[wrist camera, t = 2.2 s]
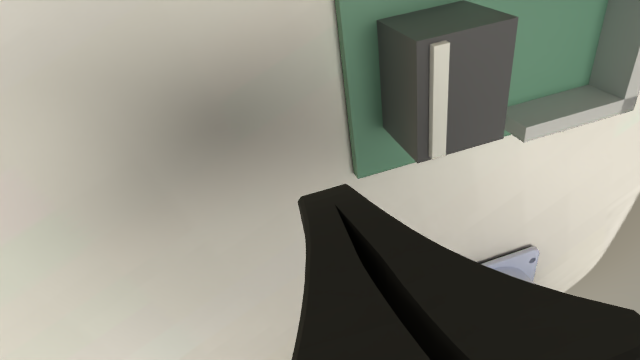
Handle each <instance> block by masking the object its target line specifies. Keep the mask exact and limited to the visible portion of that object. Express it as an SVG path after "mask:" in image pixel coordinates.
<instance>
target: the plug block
mask: <svg viewBox="0 0 640 360" xmlns="http://www.w3.org/2000/svg"><path fill="white" fill-rule="evenodd" d="M518 18H519V17H517V16H514V15H510V14H507V13H504V12H501V11H498V10H494V9H491V8H488V7H485V6H481V5H478V4H475V3H472V2H469V1H465V0H462V1H458V2H454V3H449V4H445V5H440V6H436V7H432V8H427V9H423V10H418V11H414V12H410V13H405V14H401V15H396V16H392V17H388V18H383V19H379V20H377V34H378V51H379V68H380V85H381V102H382V119H383V128H384V129H385V130H386V131H387V132H388V133H389V134H390V135H391V136H392V137H393V138H394V140H395V141H396V142H397V143H398V144H399V145H400V146H401V147H402V148H403V149H404V150H405V151H406V152H407V153H408V154H409V155H410V156H411V157H412V158H413V159H414V160H415V161H416V162H417V163H420V162H424V161H427V160H430V159H436V158H439V157H442V156H446V155H448V154H451V153H455V152H458V151H461V150H465V149H468V148H472V147H475V146H479V145H482V144H486V143H489V142H492V141H496V140H499V139H503V138H504V130H505V122H506V114H507V106H508V98H509V90H510V82H511V74H512V66H513V58H514V50H515V42H516V34H517V26H518Z"/></svg>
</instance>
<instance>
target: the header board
mask: <svg viewBox="0 0 640 360" xmlns="http://www.w3.org/2000/svg"><path fill="white" fill-rule="evenodd" d="M458 1H462V0H335V7H336V16H337V25H338V34H339V43H340V52H341V61H342V70H343V79H344V88H345V97H346V106H347V115H348V124H349V133H350V142H351V151H352V160H353V169H354V174H355V175H356V177H357V178H358V179H359V178H363V177H366V176H370V175H373V174H377V173H380V172H384V171H387V170H390V169H394V168H397V167H401V166H404V165H408V164H411V163H415V162H416V161H415V160H414V159H413V158H412V157H411V156H410V155H409V154H408V153H407V152H406V151H405V150H404V149H403V148H402V147H401V146H400V145H399V144H398V143H397V142H396V141H395V140H394V138H393V137H392V136H391V135H390V134H389V133H388V132H387V131H386V130H385V129H384V128H383V119H382V102H381V85H380V68H379V51H378V34H377V20H379V19H383V18H388V17H392V16H396V15H401V14H405V13H410V12H414V11H418V10H423V9H427V8H432V7H436V6H440V5H445V4H449V3H454V2H458ZM465 1H469V2H472V3H475V4H478V5H481V6H485V7H488V8H491V9H494V10H498V11H501V12H504V13H507V14H510V15H514V16H517V17H519V18H518V26H517V34H516V42H515V50H514V58H513V66H512V74H511V82H510V90H509V98H508V106H507V114H506V122H505V130H504V136H508V135H511V134H512V135H513V136H515V137H516V138H518V139H519V140H521V141H522V142H528V141H531V140H534V139H538V138H541V137H544V136H548V135H551V134H555V133H558V132H561V131H565V130H568V129H572V128H575V127H578V126H582V125H585V124H589V123H592V122H595V121H599V120H602V119H605V118H609V117H612V116H616V115H619V114H622V113H626V112H629V111H633V110H634V107H635V103H636V100H637V97H638V94H639V91H640V0H465Z"/></svg>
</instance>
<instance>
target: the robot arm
mask: <svg viewBox="0 0 640 360" xmlns="http://www.w3.org/2000/svg"><path fill="white" fill-rule="evenodd" d="M298 205H299V210H300V214H301V219H302V224H303V228H304V233H305V239H306V267H305V284H304V294H303V302H302V309H301V316H300V322H299V327H298V333H297V338H296V343H295V348H294V352H293V357H292V360H640V315H639V314H638V313H637V312H635V311H634V310H630V309H627V308H622V307H618V306H614V305H610V304H606V303H602V302H598V301H593V300H589V299H585V298H581V297H577V296H573V295H570V294H566V293H563V292H559V291H556V290H553V289H550V288H546V287H543V286H540V285H536V284H535V283H534V282H533V279H534V275H535V270H536V266H537V261H538V257H539V250H538V249H537V248H536V247H529V248H526V249H523V250H520V251H517V252H514V253H511V254H509V255H506V256H503V257H500V258H497V259H494V260H491V261H488V262H485V263H482V264H479V263H477V262H475V261H472V260H470V259H468V258H466V257H464V256H461V255H459V254H457V253H455V252H453V251H451V250H449V249H446V248H444V247H443V246H441V245H439V244H437V243H435V242H433V241H431V240H430V239H428V238H426V237H424V236H423V235H421V234H419V233H417V232H416V231H414V230H412V229H411V228H409V227H407V226H406V225H404V224H403V223H401V222H400V221H398V220H397V219H395V218H394V217H392V216H390V215H389V214H387V213H386V212H384V211H383V210H382V209H380V208H379V207H377V206H376V205H374V204H373V203H372V202H370V201H369V200H368V199H366V198H365V197H363V196H362V195H361V194H359V193H358V192H357V191H355V190H354V189H353V188H351V187H350V186H348V185H347V184H343V185H340V186H336V187H333V188H330V189H326V190H323V191H319V192H316V193H312V194H309V195H305V196H302V197H301V198H300V199H299V201H298Z"/></svg>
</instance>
